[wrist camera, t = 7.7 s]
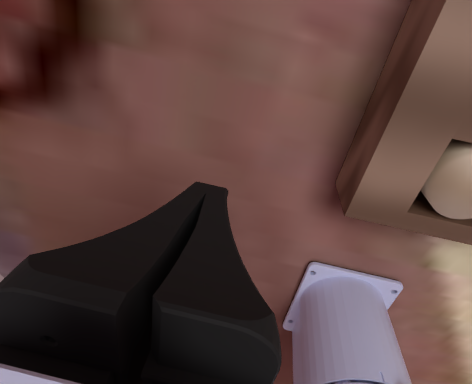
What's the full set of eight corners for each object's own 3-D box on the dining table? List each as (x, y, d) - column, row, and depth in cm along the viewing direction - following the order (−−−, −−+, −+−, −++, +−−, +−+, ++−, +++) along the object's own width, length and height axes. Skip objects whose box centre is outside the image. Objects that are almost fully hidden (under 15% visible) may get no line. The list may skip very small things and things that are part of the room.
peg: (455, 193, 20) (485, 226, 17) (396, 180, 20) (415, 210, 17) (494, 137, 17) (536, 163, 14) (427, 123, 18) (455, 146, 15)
